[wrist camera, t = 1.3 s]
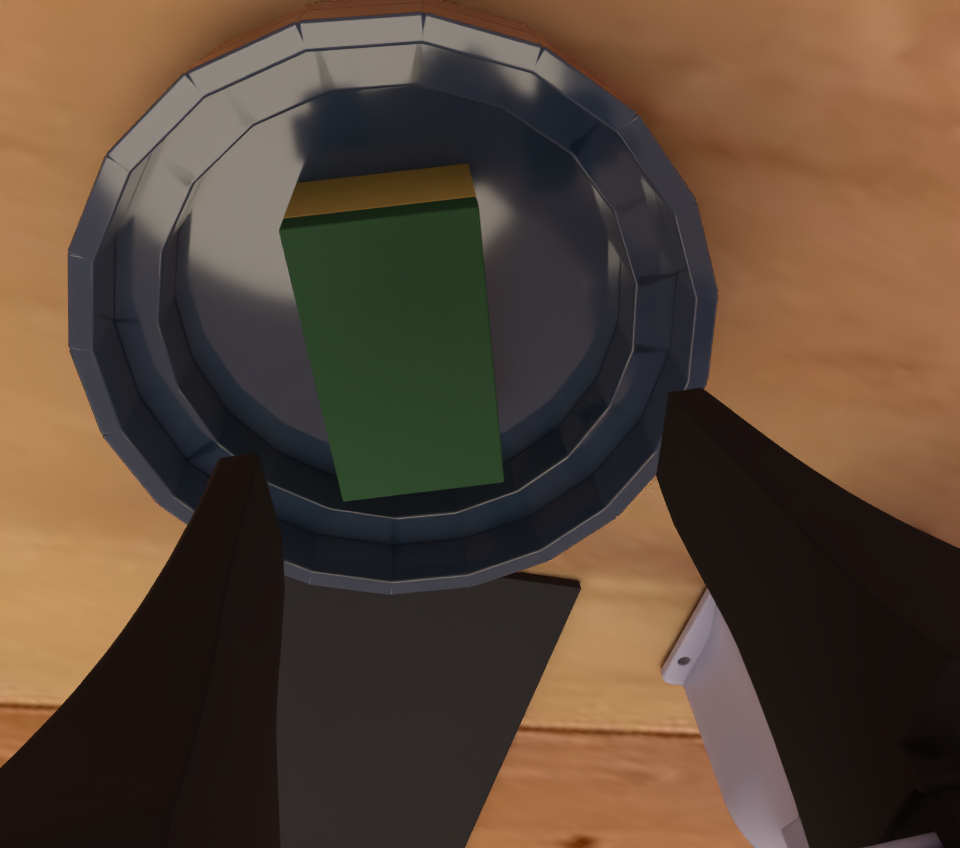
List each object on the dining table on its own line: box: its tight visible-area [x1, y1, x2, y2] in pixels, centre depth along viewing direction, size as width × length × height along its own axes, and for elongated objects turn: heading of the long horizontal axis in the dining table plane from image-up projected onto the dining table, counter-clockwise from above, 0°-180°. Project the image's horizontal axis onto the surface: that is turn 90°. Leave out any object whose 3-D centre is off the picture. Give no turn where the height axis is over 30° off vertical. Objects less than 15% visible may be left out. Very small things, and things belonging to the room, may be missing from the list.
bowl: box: [68, 0, 718, 595], centre depth 22 cm, size 16×16×4 cm
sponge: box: [279, 164, 504, 501], centre depth 22 cm, size 8×5×4 cm, turn 5°
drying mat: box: [276, 573, 581, 848], centre depth 35 cm, size 20×14×1 cm
